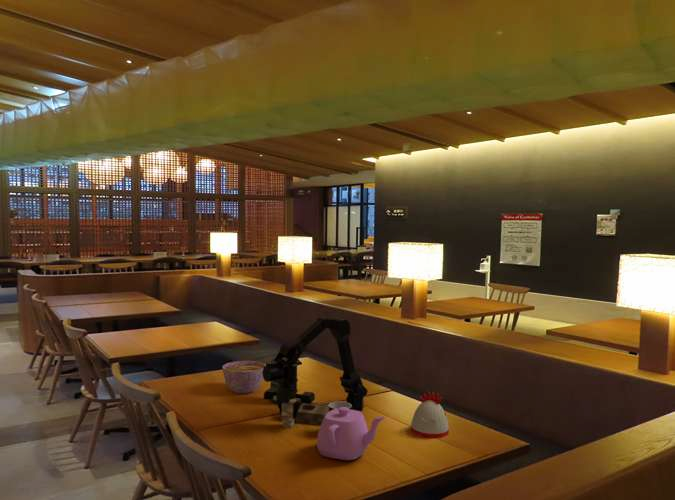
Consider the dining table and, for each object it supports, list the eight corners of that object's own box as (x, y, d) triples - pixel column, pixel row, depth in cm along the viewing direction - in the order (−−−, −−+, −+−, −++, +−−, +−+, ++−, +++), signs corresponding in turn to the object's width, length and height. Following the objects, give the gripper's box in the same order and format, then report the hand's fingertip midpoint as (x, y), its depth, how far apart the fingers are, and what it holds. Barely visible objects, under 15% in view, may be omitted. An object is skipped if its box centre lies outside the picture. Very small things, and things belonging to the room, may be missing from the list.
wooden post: (295, 424, 203) (296, 401, 203) (292, 428, 199) (292, 405, 199) (285, 423, 204) (285, 400, 204) (281, 427, 200) (281, 403, 200)
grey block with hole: (333, 414, 215) (333, 404, 215) (325, 425, 203) (325, 414, 203) (291, 410, 219) (291, 400, 219) (280, 420, 208) (281, 410, 208)
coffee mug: (334, 438, 191) (335, 410, 191) (323, 429, 199) (324, 403, 198) (362, 432, 196) (363, 406, 196) (351, 425, 204) (351, 399, 204)
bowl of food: (275, 389, 247) (275, 364, 247) (245, 400, 230) (245, 374, 230) (242, 382, 258) (243, 358, 257) (212, 392, 241) (212, 367, 240)
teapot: (304, 462, 170) (305, 416, 170) (329, 439, 190) (330, 397, 189) (372, 476, 162) (373, 427, 162) (391, 449, 182) (392, 406, 181)
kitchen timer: (445, 440, 191) (446, 399, 190) (407, 434, 195) (408, 394, 195) (451, 427, 204) (452, 388, 203) (415, 422, 208) (416, 384, 208)
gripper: (258, 381, 195) (257, 422, 196) (306, 385, 191) (305, 428, 191) (269, 373, 206) (268, 412, 207) (315, 377, 202) (314, 418, 202)
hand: (288, 418), depth 202 cm, fingers closed on wooden post, 4 cm apart
